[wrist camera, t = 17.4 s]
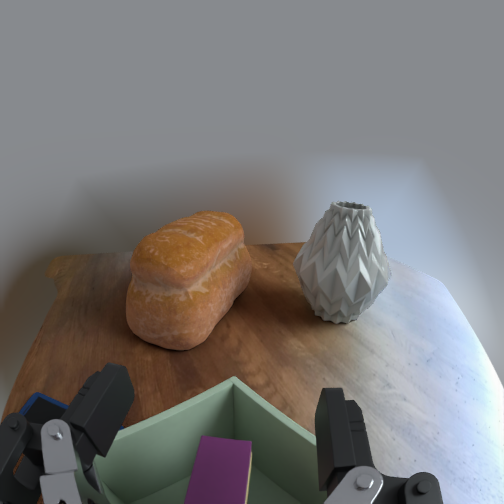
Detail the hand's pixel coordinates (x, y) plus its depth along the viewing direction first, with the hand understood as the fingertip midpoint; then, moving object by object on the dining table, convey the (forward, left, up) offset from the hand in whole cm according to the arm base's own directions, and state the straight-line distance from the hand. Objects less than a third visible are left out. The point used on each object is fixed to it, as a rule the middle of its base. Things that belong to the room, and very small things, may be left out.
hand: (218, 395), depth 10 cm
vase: (-35, -14, -17) cm, 41 cm away
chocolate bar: (+1, +1, -16) cm, 16 cm away
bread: (-18, -31, -17) cm, 39 cm away
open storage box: (+1, +1, -17) cm, 17 cm away
